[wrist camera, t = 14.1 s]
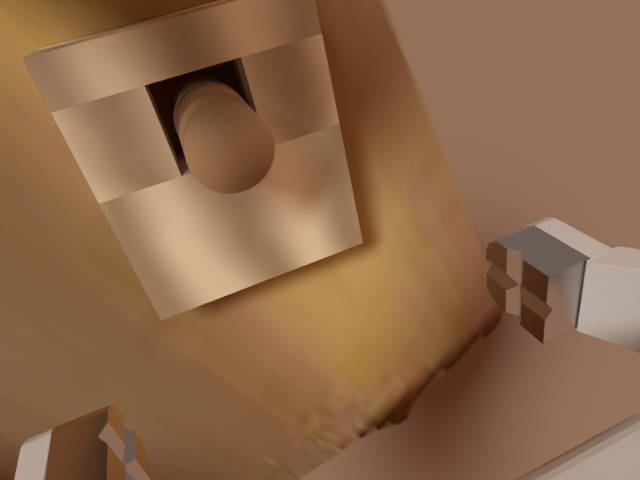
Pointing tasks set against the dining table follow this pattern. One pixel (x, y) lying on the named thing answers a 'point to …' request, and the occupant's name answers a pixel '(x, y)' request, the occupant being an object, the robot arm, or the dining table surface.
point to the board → (170, 168)
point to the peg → (221, 135)
